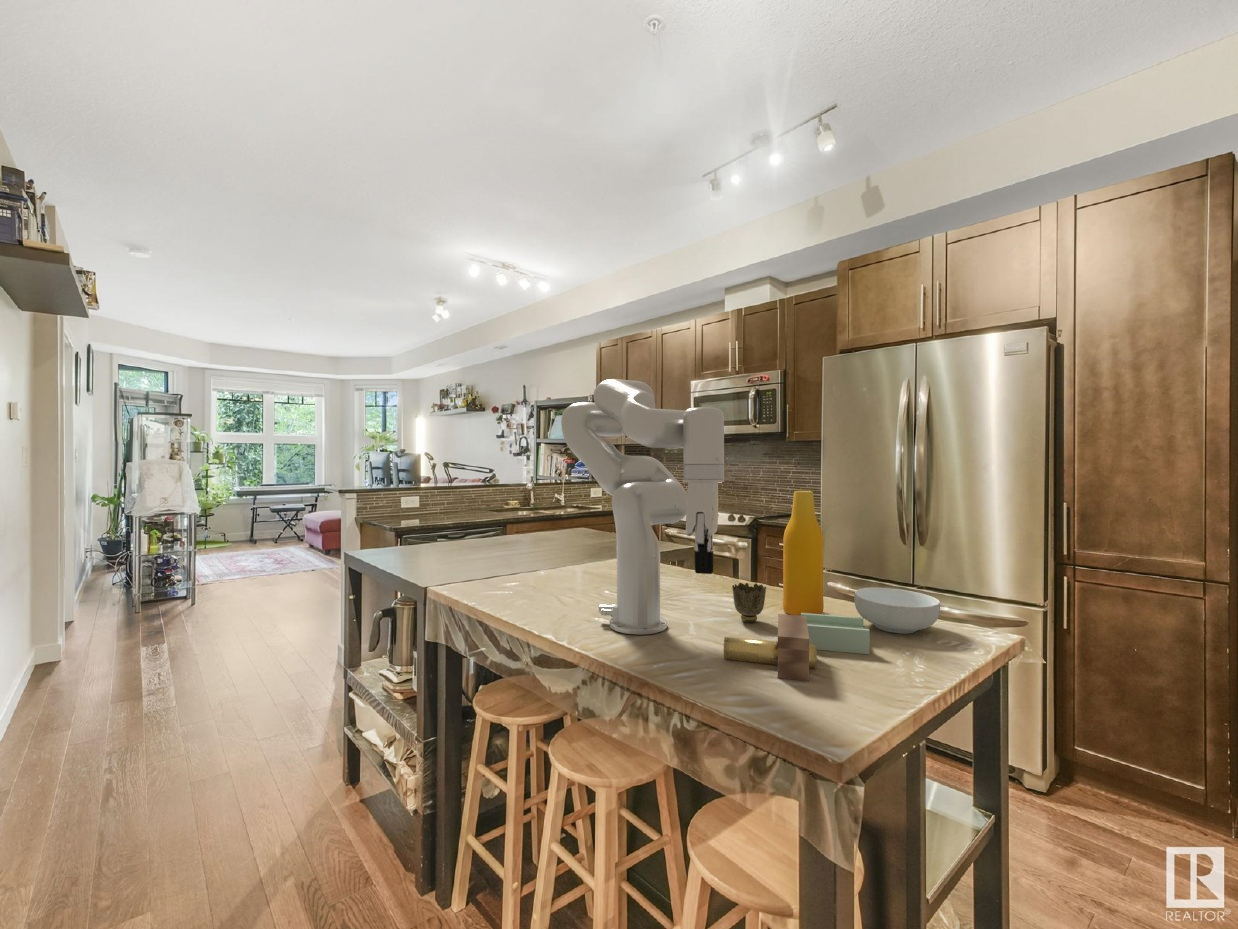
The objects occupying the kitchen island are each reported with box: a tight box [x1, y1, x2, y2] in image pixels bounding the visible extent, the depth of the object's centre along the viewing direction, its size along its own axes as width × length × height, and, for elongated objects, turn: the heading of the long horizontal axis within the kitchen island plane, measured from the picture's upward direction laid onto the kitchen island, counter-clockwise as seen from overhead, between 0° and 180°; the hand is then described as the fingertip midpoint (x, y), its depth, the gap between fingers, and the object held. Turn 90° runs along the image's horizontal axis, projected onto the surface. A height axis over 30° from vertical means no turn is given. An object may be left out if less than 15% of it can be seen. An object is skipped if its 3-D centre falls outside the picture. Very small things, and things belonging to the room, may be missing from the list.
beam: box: [777, 613, 810, 682], centre depth 100 cm, size 5×14×7 cm, turn 164°
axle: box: [723, 636, 818, 669], centre depth 101 cm, size 16×4×4 cm, turn 74°
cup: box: [731, 582, 767, 624], centre depth 127 cm, size 8×7×8 cm
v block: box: [801, 613, 871, 655], centre depth 111 cm, size 12×9×4 cm
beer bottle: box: [782, 490, 825, 616], centre depth 134 cm, size 9×9×29 cm
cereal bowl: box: [853, 587, 941, 634], centre depth 122 cm, size 17×17×7 cm
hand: (704, 572), depth 104 cm, fingers closed
